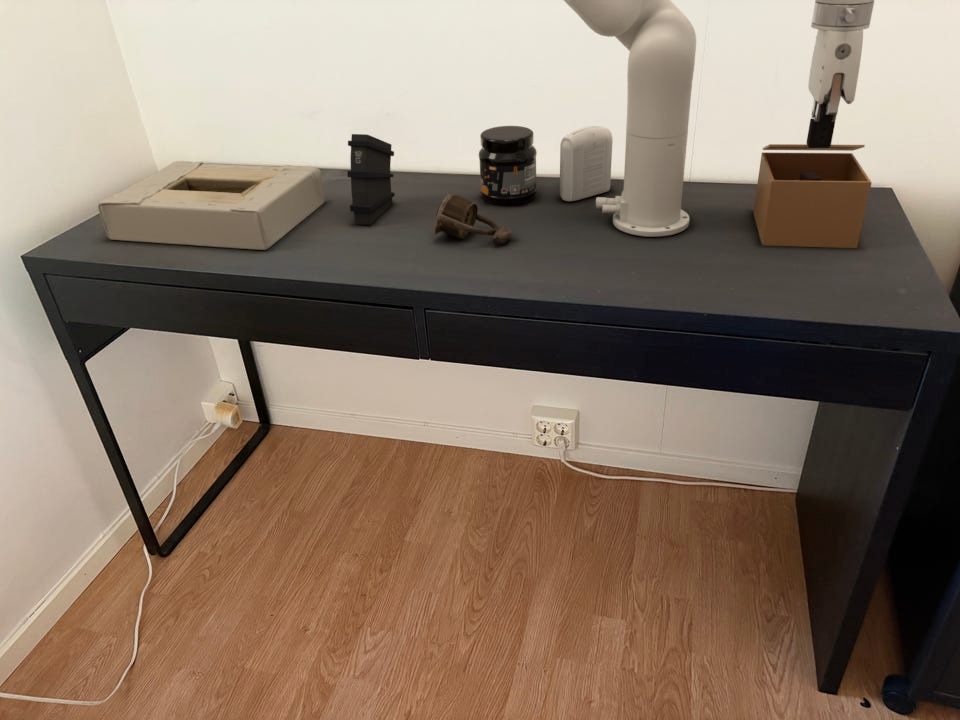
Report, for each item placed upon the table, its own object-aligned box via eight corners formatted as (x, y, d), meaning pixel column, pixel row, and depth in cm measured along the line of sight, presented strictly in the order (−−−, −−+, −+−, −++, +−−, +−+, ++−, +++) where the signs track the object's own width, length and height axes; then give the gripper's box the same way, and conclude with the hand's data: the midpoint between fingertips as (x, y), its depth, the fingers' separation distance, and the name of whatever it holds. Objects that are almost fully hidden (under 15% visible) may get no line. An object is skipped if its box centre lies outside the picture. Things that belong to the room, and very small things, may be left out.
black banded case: (343, 222, 133) (348, 133, 131) (375, 227, 145) (379, 146, 144) (363, 224, 132) (368, 134, 130) (393, 228, 144) (398, 146, 143)
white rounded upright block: (598, 185, 147) (600, 119, 140) (613, 191, 144) (616, 124, 137) (556, 198, 142) (556, 130, 136) (570, 204, 139) (571, 136, 133)
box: (327, 202, 147) (181, 194, 155) (321, 162, 143) (170, 156, 151) (270, 254, 129) (107, 242, 136) (261, 210, 124) (92, 200, 132)
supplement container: (482, 188, 149) (478, 125, 143) (536, 186, 148) (535, 123, 142) (479, 208, 140) (476, 142, 134) (537, 206, 139) (536, 140, 133)
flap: (769, 146, 119) (769, 144, 119) (762, 150, 126) (762, 147, 126) (864, 147, 117) (864, 144, 117) (852, 150, 123) (852, 148, 123)
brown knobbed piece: (467, 189, 133) (422, 192, 126) (521, 198, 124) (476, 202, 118) (465, 231, 135) (421, 236, 129) (518, 243, 127) (474, 249, 120)
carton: (762, 245, 120) (771, 180, 115) (753, 212, 132) (761, 152, 126) (856, 248, 118) (871, 182, 112) (839, 214, 129) (852, 153, 124)
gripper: (884, 23, 100) (855, 162, 110) (858, 6, 113) (834, 132, 122) (822, 25, 102) (799, 162, 111) (804, 8, 114) (784, 132, 124)
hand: (818, 146), depth 117 cm, fingers closed
